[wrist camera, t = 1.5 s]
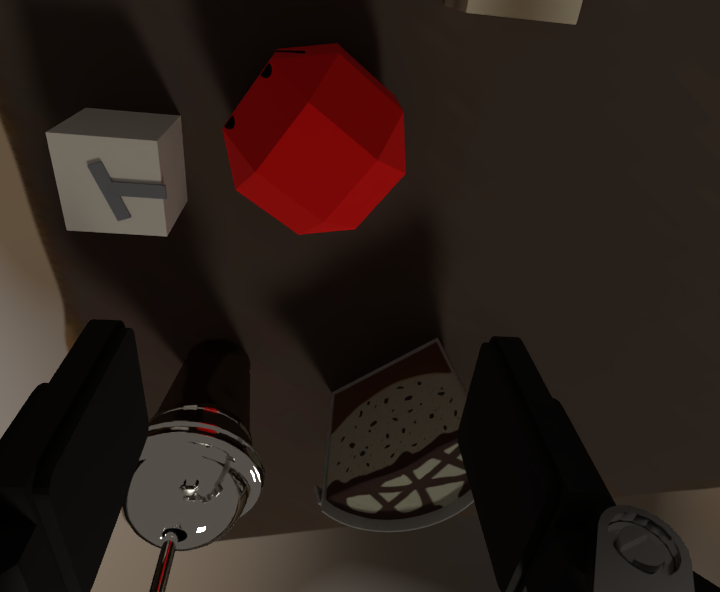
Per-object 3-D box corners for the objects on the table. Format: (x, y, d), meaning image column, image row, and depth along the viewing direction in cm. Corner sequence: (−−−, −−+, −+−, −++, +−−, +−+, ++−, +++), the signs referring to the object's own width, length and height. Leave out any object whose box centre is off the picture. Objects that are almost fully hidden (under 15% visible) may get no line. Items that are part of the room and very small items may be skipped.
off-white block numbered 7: (184, 115, 29) (160, 142, 25) (191, 200, 32) (170, 238, 27) (86, 107, 28) (43, 133, 24) (101, 194, 31) (65, 231, 27)
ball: (304, 8, 27) (298, 22, 20) (417, 113, 30) (443, 153, 23) (218, 132, 30) (188, 178, 23) (329, 214, 33) (330, 276, 26)
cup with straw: (294, 339, 38) (272, 645, 21) (252, 423, 42) (205, 734, 25) (176, 299, 35) (43, 608, 18) (144, 392, 39) (10, 713, 22)
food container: (357, 445, 44) (366, 559, 35) (315, 400, 41) (314, 514, 32) (490, 380, 41) (534, 488, 32) (455, 327, 38) (494, 431, 29)
